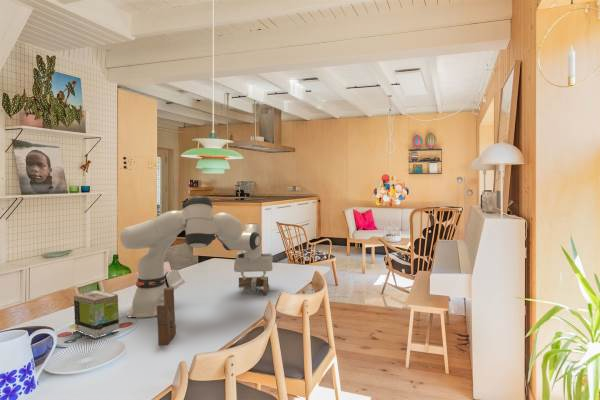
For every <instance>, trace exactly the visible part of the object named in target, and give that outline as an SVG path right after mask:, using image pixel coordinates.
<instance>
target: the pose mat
mask: <svg viewBox="0 0 600 400" xmlns="http://www.w3.org/2000/svg"><path fill="white" fill-rule="evenodd" d="M260 287H261V286H260ZM260 287H257V291H256V293H243V289H244V287H242V289H241V295H251V294H259V293H260V289H261V288H260Z"/></svg>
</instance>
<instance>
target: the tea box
mask: <svg viewBox="0 0 600 400" xmlns="http://www.w3.org/2000/svg"><path fill="white" fill-rule="evenodd" d="M73 306H74V308H73V309H74V311H73V312H74V328H75V330H78V331H81V332H83V333H86V334H89V335H92V336H94V337H97V336H101V335H104V334H107V333H110V332H112V331H114V330H117V329H119V330H120V322H119V321H120V319H119V318H120V317H119V316H120V315H119V295H118V294H117V293H113V292H109V291H102V290H98V289H97V290H93V291H88V292H84V293H79V294H75V295H73ZM75 330H74V331H75Z"/></svg>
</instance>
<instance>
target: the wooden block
mask: <svg viewBox="0 0 600 400" xmlns="http://www.w3.org/2000/svg"><path fill="white" fill-rule="evenodd" d="M175 311H176V310H175V290H174V288H173V287H169V288H165V289H164V305H163V306H157V316H156V319H157V321H156V322H157V338H158V340H157V341H158V345H159V346H165V345H169V344H170V343H171V341H172V339H174V337H175V336H176V334H177V325H176V317H175V316H176V315H175Z"/></svg>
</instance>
